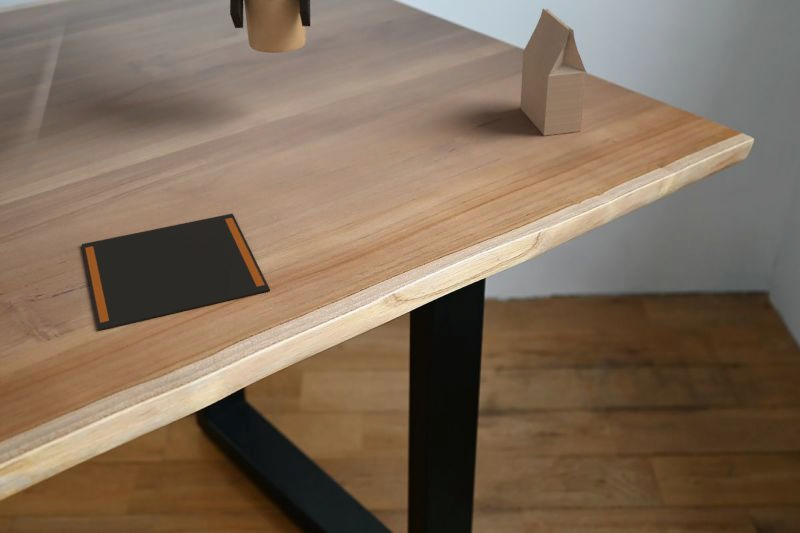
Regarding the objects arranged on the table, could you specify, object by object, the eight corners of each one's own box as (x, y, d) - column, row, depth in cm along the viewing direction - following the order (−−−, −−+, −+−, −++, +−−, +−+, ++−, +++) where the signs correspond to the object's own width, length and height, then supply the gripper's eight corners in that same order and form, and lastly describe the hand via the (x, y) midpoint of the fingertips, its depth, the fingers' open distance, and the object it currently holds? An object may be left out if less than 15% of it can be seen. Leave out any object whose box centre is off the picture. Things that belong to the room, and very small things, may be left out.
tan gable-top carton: (544, 135, 86) (551, 32, 81) (520, 108, 92) (525, 9, 86) (580, 131, 87) (590, 28, 81) (554, 104, 92) (562, 6, 87)
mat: (82, 245, 71) (81, 243, 71) (232, 214, 75) (232, 213, 75) (98, 330, 62) (98, 329, 62) (270, 290, 65) (269, 289, 65)
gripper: (367, -176, 92) (373, 36, 87) (182, -173, 91) (178, 41, 87) (365, -232, 84) (371, -3, 80) (164, -228, 84) (159, 2, 79)
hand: (271, 19), depth 83 cm, fingers closed on candle, 5 cm apart
